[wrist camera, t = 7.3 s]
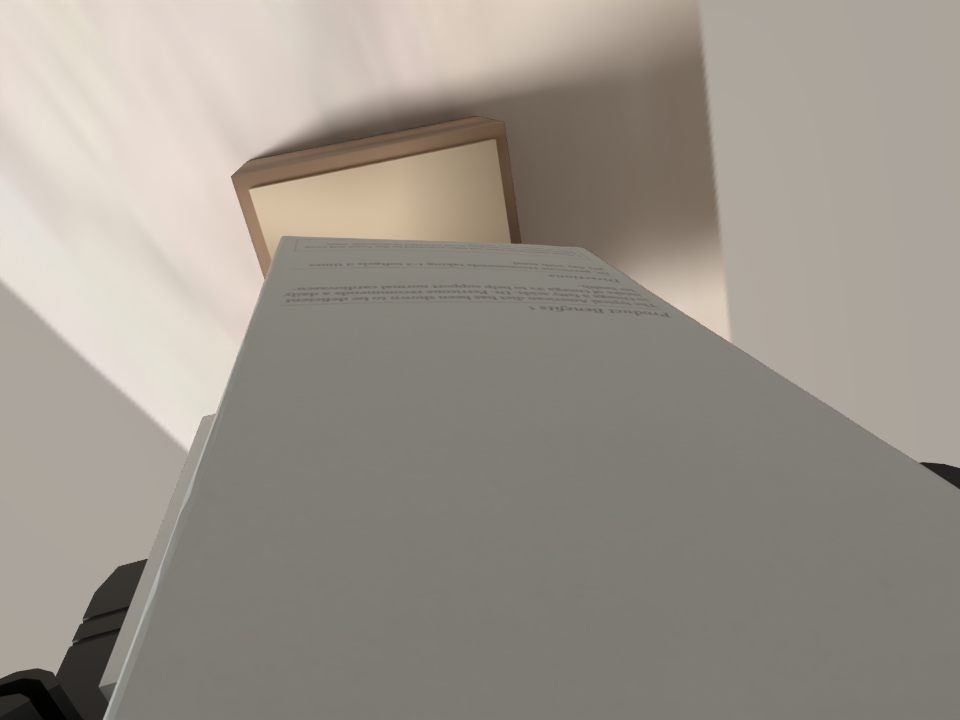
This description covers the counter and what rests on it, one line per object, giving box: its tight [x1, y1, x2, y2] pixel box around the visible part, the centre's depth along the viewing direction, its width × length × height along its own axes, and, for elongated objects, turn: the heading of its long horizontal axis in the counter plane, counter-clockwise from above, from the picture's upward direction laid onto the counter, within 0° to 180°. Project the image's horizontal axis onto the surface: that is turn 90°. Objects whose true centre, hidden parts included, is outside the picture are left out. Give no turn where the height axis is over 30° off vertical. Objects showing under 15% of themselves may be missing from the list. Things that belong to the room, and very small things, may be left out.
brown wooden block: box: [231, 116, 521, 279], centre depth 22 cm, size 10×8×4 cm
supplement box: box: [103, 236, 960, 720], centre depth 10 cm, size 7×7×13 cm
